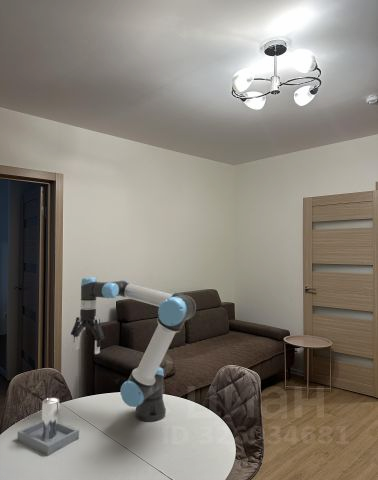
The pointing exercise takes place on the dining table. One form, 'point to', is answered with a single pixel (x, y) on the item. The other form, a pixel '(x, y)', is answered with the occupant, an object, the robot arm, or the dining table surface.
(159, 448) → the dining table surface
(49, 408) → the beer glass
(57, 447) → the tray
